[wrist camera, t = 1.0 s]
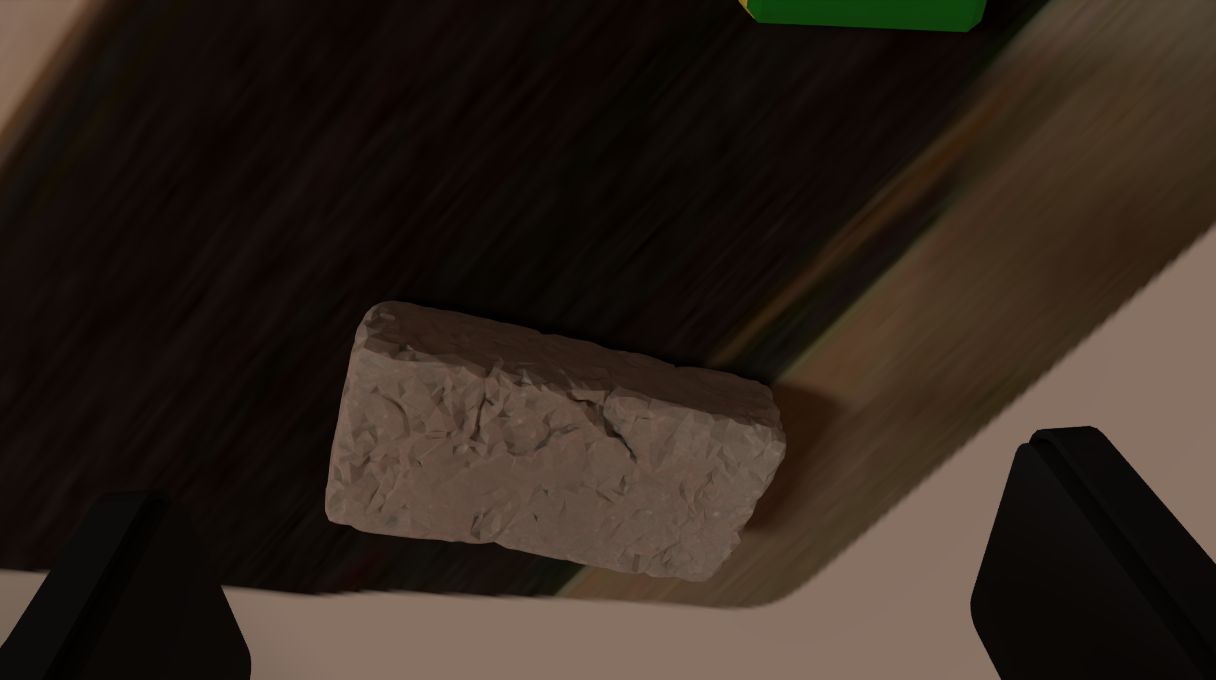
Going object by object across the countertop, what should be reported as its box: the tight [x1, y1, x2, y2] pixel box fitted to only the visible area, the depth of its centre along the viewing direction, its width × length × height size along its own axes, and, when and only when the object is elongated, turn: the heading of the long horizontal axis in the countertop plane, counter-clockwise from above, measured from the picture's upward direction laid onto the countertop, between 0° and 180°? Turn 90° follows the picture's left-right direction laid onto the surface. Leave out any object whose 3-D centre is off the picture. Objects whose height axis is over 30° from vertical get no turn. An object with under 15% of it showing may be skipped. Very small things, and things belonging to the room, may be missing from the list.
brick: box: [325, 301, 787, 582], centre depth 33 cm, size 17×8×5 cm, turn 73°
